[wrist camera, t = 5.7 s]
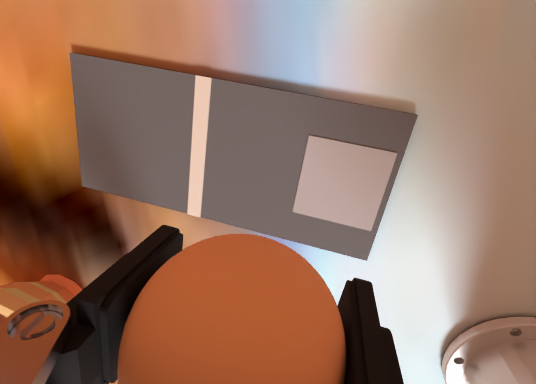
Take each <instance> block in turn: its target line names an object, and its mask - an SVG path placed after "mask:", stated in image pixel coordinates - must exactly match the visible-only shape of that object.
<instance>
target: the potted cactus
mask: <svg viewBox="0 0 536 384" xmlns="http://www.w3.org/2000/svg"><path fill="white" fill-rule="evenodd" d="M81 291H82V289H81V288H80V287H79V285H78V284H77V283H76V282H74V281H72V280H70V279H68V278H66V277H64V276H62V275H60V274H55V275H45V276H44V277H43V278H42V279H41V280H40V281H35V282H14V283H10V284H6V285H3V286H0V325H1V324H2V322H3V321H4V320H5V319H6V318H7V317H8V316H9V315H11V314H12V313H13V312H15V311H16V310H18V309H20V308H21V307H24V306H26V305H28V304H31V303H34V302H38V301H43V300H56V301H61V302H63V303H65V304H66V303H67V302H69V301H70V300H71V299H72V298H73V297H75V296H76V295H77V294H78V293H80V292H81Z"/></svg>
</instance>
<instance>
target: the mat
mask: <svg viewBox="0 0 536 384" xmlns="http://www.w3.org/2000/svg"><path fill="white" fill-rule="evenodd" d="M70 60H71V71H72V82H73V93H74V104H75V115H76V125H77V136H78V147H79V158H80V169H81V180H82V186H84V187H88V188H92V189H95V190H99V191H103V192H107V193H111V194H114V195H118V196H122V197H126V198H130V199H134V200H137V201H141V202H145V203H149V204H153V205H156V206H160V207H164V208H168V209H172V210H176V211H179V212H183V213H187V214H189V215H193V216H196V217H202V218H206V219H210V220H214V221H217V222H221V223H225V224H229V225H233V226H237V227H240V228H244V229H248V230H252V231H256V232H259V233H263V234H267V235H271V236H275V237H279V238H282V239H286V240H290V241H294V242H298V243H301V244H305V245H309V246H313V247H317V248H320V249H324V250H328V251H332V252H336V253H340V254H343V255H347V256H351V257H355V258H359V259H362V260H366V261H367V259H368V256H369V253H370V250H371V247H372V244H373V242H374V239H375V236H376V233H377V230H378V227H379V224H380V222H381V219H382V216H383V213H384V210H385V207H386V204H387V202H388V199H389V196H390V193H391V190H392V187H393V184H394V181H395V179H396V176H397V173H398V170H399V167H400V164H401V161H402V159H403V156H404V153H405V150H406V147H407V144H408V141H409V139H410V136H411V133H412V130H413V127H414V124H415V121H416V119H417V116H418V115H416V114H410V113H405V112H399V111H394V110H388V109H383V108H377V107H371V106H366V105H360V104H355V103H349V102H344V101H338V100H333V99H327V98H321V97H316V96H310V95H305V94H299V93H294V92H288V91H282V90H277V89H271V88H266V87H260V86H255V85H249V84H244V83H238V82H232V81H227V80H221V79H216V78H210V77H205V76H199V75H194V74H188V73H182V72H177V71H171V70H166V69H160V68H155V67H149V66H143V65H138V64H132V63H127V62H121V61H116V60H110V59H105V58H99V57H93V56H88V55H82V54H77V53H70Z"/></svg>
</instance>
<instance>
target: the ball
mask: <svg viewBox="0 0 536 384" xmlns="http://www.w3.org/2000/svg"><path fill="white" fill-rule="evenodd" d="M345 371H346V341H345V334H344V328H343V324H342V320H341V316H340V313H339V310H338V307H337V305H336V302H335V300H334V297H333V296H332V294H331V292H330V290H329V288H328V287H327V285H326V283H325V282H324V280H323V279H322V277H321V276H320V275H319V274H318V272H317V271H316V270H315V269H314V268H313V267H312V266H311V265H310V264H309V263H308V262H307V261H306V260H305V259H304V258H303V257H302V256H301V255H299V254H298V253H297V252H295V251H294V250H292V249H290V248H289V247H287V246H285V245H283V244H281V243H279V242H277V241H274V240H271V239H268V238H265V237H261V236H257V235H250V234H227V235H221V236H215V237H212V238H208V239H205V240H202V241H200V242H197V243H195V244H193V245H191V246H189V247H187V248H185V249H184V250H182V251H180V252H179V253H177V254H176V255H175V256H173V257H172V258H170V259H169V260H168V261H167V262H166V263H165V264H164V265H163V266H161V267H160V268H159V269H158V270H157V271H156V272H155V273H154V275H153V276H152V277H151V278H150V280H149V281H148V282H147V283H146V285H145V286H144V288H143V289H142V290H141V292H140V294H139V295H138V297H137V299H136V301H135V302H134V304H133V307H132V309H131V311H130V313H129V316H128V318H127V321H126V323H125V326H124V330H123V335H122V339H121V343H120V347H119V356H118V370H117V375H118V384H344V378H345Z"/></svg>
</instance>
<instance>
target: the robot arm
mask: <svg viewBox="0 0 536 384" xmlns="http://www.w3.org/2000/svg"><path fill="white" fill-rule="evenodd" d="M182 245H183V234H181V233H180V231H179V229H178V228H174V227H171V226H167V225H162V226H161V227H159V228H158V229H157V230H156V231H155V232H153V233H152V234H151V235H150V236H149V237H147V238H146V239H145V240H144V241H143V242H141V243H140V244H139V245H138V246H137V247H136V248H134V249H133V250H132V251H131V252H130V253H127V254H126V255H124V256H123V257H122V258H121V259H119V260H118V261H117V262H116V263H115V264H113V265H112V266H111V267H110V268H109V269H107V270H106V271H105V272H104V273H102V274H101V275H100V276H99V277H98V278H96V279H95V280H94V281H93V282H92V283H90V284H89V285H88V286H87V287H86V288H84V289H83V290H82V291H81V292H80V293H78V294H77V295H76V296H75V297H73V298H72V299H71V300H70V301H69V302H67V303H66V304H65V303H63V302H61V301H56V300H43V301H38V302H34V303H31V304H28V305H26V306H24V307H21V308H20V309H18V310H16V311H15V312H13V313H12V314H11V315H9V316H8V317H7V318H6V319H5V320H4V321H3V322H2V324H1V325H0V384H109V382H110V383H114V382H115V381H116V380H117V379H118V375H117V370H118V356H119V347H120V343H121V339H122V335H123V330H124V326H125V323H126V321H127V318H128V316H129V313H130V311H131V309H132V307H133V304H134V302H135V301H136V299H137V297H138V295H139V294H140V292H141V290H142V289H143V288H144V286H145V285H146V283H147V282H148V281H149V280H150V278H151V277H152V276H153V275H154V273H155V272H156V271H157V270H158V269H159V268H160V267H161V266H163V265H164V264H165V263H166V262H167V261H168V260H169V259H170V258H172V257H173V256H175V255H176V254H177V253H179V252H180V251H182ZM337 307H338V310H339V313H340V316H341V320H342V324H343V328H344V334H345V341H346V371H345V378H344V384H404V383H403V379H402V375H401V370H400V366H399V362H398V358H397V354H396V349H395V345H394V341H393V337H392V334H391V331H390V330H389V329H387V328H384V327H381V326H380V322H379V317H378V312H377V307H376V302H375V297H374V292H373V287H372V283H371V282H369V281H365V280H362V279H358V278H354V279H353V280H352V281H349V280H347V282H346V284H345V287H344V290H343V292H342V295H341V298H340V301H339V303H338V306H337ZM442 372H443V376H444V380H445V382H446V384H536V317H507V318H500V319H495V320H491V321H487V322H484V323H481V324H479V325H476V326H474V327H472V328H470V329H468V330H466V331H465V332H463V333H462V334H460V335H459V336H458V337H457V338H456V339H455V340H454V341H453V342H452V343H451V344H450V345H449V347H448V348H447V350H446V352H445V354H444V357H443V360H442Z"/></svg>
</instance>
